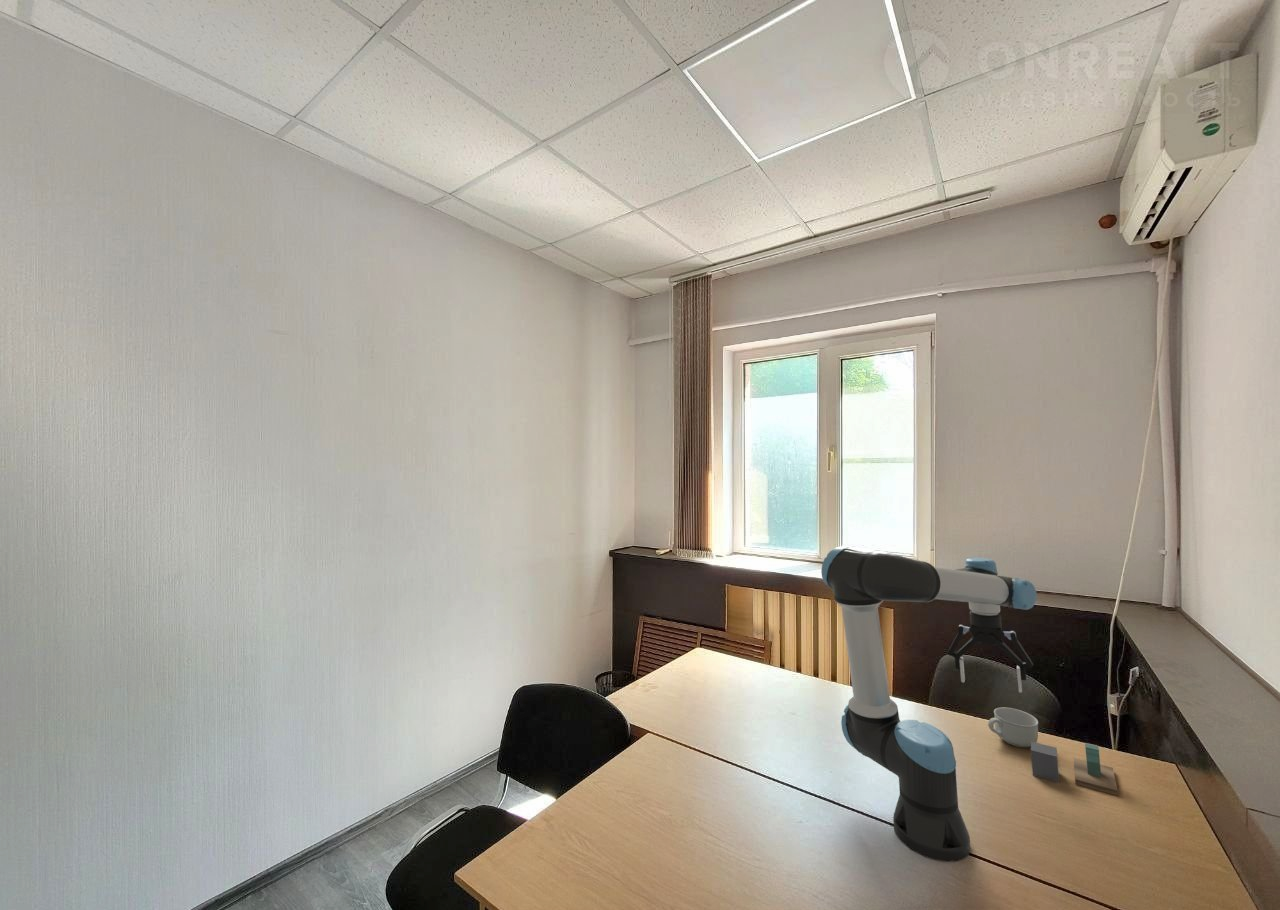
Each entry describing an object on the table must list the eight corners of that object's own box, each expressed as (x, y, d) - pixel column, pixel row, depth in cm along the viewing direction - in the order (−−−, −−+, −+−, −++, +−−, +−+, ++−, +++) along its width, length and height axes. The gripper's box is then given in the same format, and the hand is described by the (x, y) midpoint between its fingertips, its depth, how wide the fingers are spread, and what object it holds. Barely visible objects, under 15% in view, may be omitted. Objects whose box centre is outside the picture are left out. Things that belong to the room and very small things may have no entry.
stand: (1117, 795, 122) (1114, 761, 123) (1075, 783, 128) (1072, 751, 128) (1113, 772, 132) (1110, 741, 132) (1073, 762, 137) (1071, 732, 137)
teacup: (1024, 733, 153) (1022, 707, 153) (1049, 752, 142) (1047, 724, 142) (977, 732, 154) (975, 706, 155) (998, 751, 143) (996, 724, 144)
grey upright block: (1058, 782, 128) (1056, 756, 129) (1032, 775, 132) (1030, 750, 132) (1058, 772, 133) (1056, 747, 133) (1033, 765, 136) (1031, 741, 136)
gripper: (1039, 614, 138) (1045, 690, 137) (937, 603, 154) (942, 672, 152) (1039, 621, 132) (1047, 700, 131) (933, 609, 148) (939, 680, 147)
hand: (990, 685), depth 142 cm, fingers open, 13 cm apart
